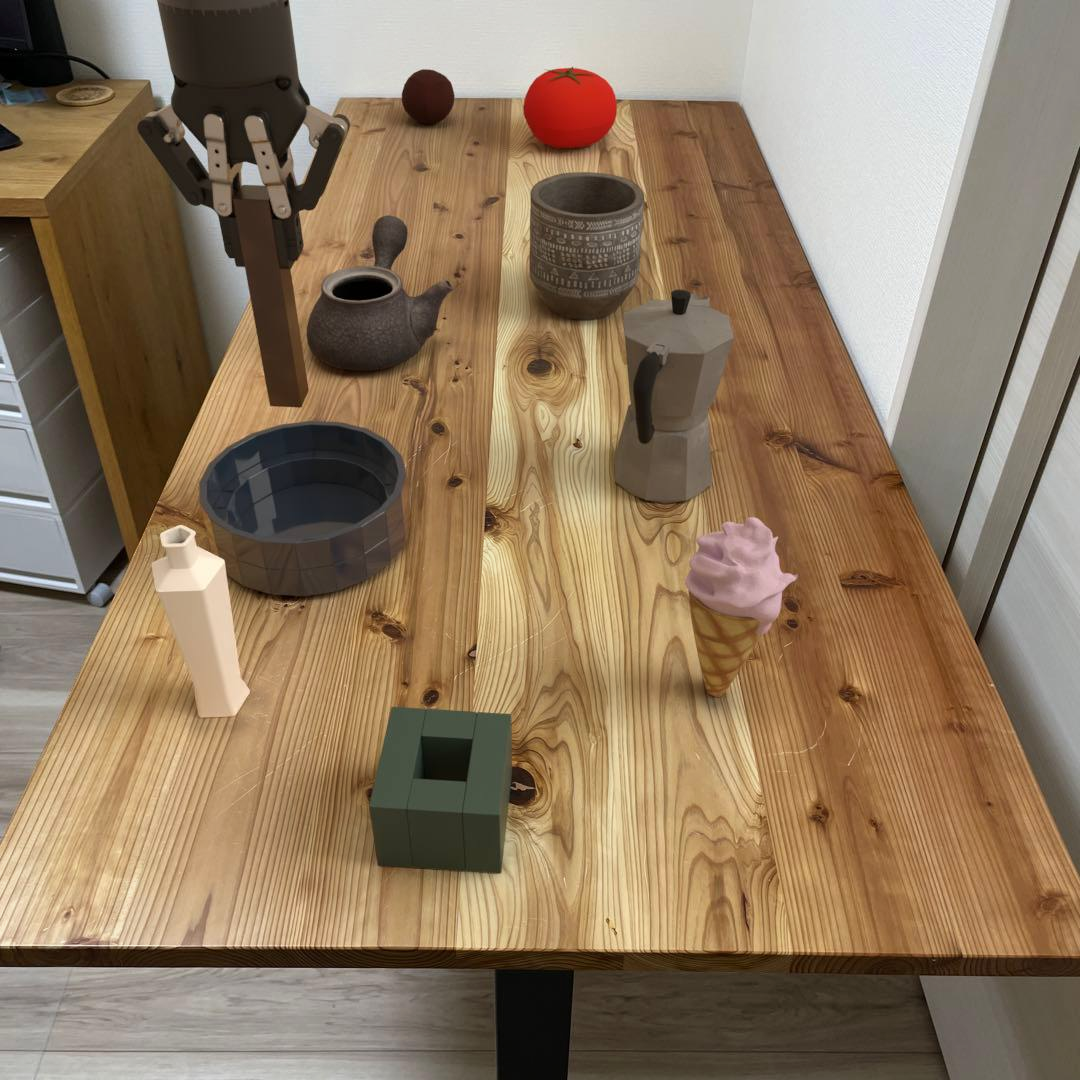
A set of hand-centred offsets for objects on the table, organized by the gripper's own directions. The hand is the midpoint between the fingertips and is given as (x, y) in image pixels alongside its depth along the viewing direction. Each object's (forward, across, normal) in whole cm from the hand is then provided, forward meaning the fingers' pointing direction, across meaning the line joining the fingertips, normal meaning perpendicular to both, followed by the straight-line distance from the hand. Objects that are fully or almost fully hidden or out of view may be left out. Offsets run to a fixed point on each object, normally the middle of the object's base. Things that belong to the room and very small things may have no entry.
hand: (267, 262), depth 74 cm
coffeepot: (+25, +29, +10) cm, 39 cm away
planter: (+25, +21, +43) cm, 54 cm away
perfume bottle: (+25, -2, -18) cm, 31 cm away
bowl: (+25, 0, 0) cm, 25 cm away
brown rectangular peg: (+11, 0, 0) cm, 11 cm away
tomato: (+25, +17, +93) cm, 98 cm away
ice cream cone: (+25, +33, -15) cm, 44 cm away
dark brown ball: (+25, -5, +100) cm, 103 cm away
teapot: (+25, 0, +34) cm, 42 cm away
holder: (+25, +15, -27) cm, 39 cm away
